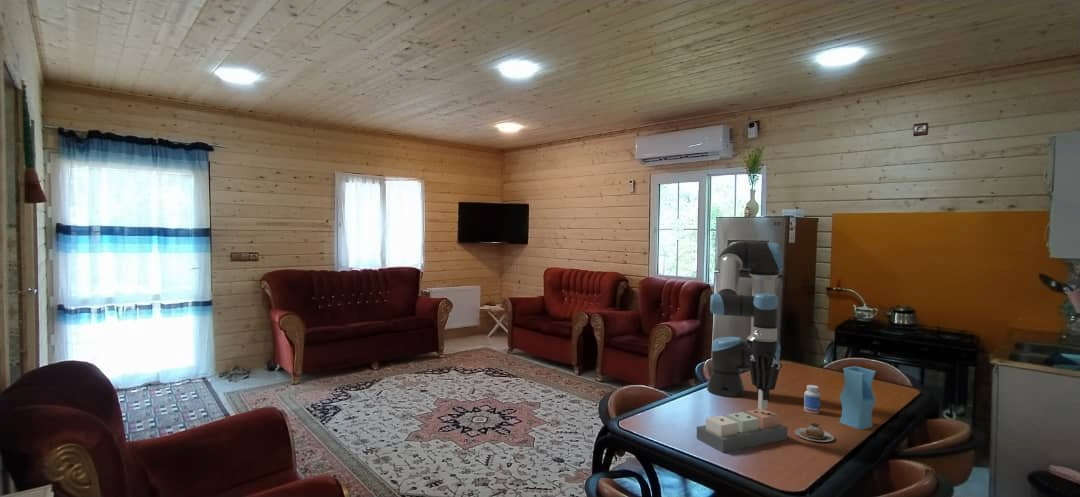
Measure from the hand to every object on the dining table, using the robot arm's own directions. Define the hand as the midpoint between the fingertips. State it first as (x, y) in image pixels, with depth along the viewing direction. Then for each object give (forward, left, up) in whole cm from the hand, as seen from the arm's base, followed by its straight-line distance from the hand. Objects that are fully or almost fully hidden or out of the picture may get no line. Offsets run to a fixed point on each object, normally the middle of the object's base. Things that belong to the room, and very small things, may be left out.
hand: (762, 408), depth 179 cm
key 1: (0, -18, -6) cm, 19 cm away
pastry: (+8, +16, -10) cm, 20 cm away
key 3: (0, 0, -6) cm, 6 cm away
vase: (+6, +40, -9) cm, 42 cm away
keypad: (0, -9, -9) cm, 13 cm away
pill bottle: (-10, +37, -9) cm, 40 cm away
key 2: (0, -9, -6) cm, 11 cm away
